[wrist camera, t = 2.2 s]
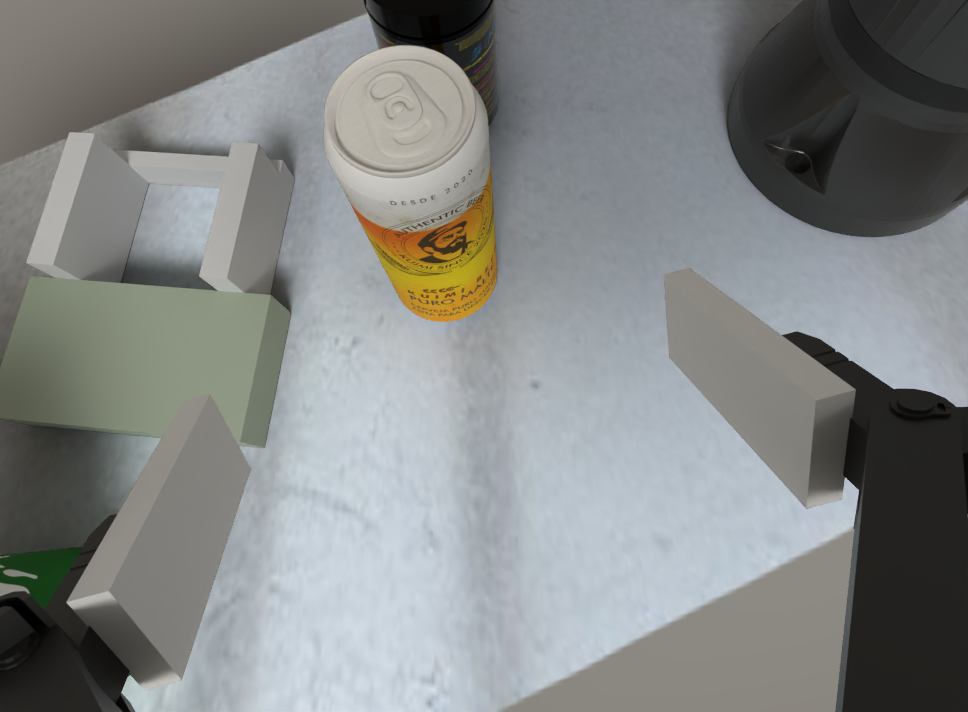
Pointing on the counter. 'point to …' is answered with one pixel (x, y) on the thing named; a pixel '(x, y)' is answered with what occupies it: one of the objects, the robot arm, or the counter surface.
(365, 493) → the counter surface
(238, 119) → the counter surface
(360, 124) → the beer can
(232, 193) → the green panel with frame
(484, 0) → the supplement container
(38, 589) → the milk carton
